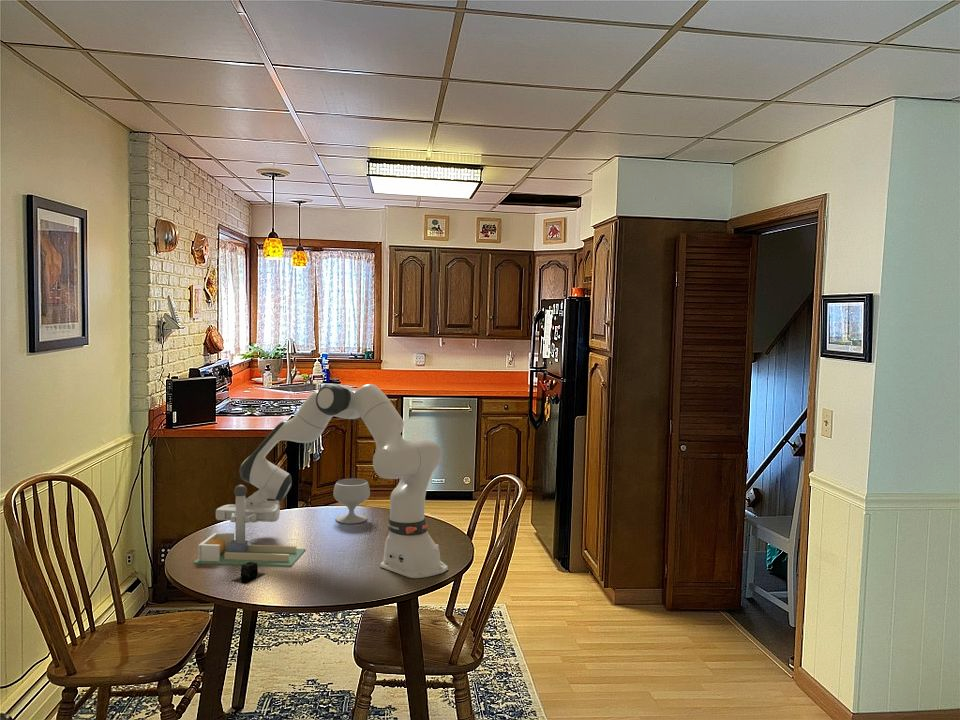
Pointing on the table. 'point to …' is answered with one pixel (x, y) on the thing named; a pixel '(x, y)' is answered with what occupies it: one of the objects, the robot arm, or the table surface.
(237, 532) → the lever
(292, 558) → the pitch
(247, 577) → the black boxy piece
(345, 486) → the chalice
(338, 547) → the table surface
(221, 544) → the ball
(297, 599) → the table surface
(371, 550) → the table surface
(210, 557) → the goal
